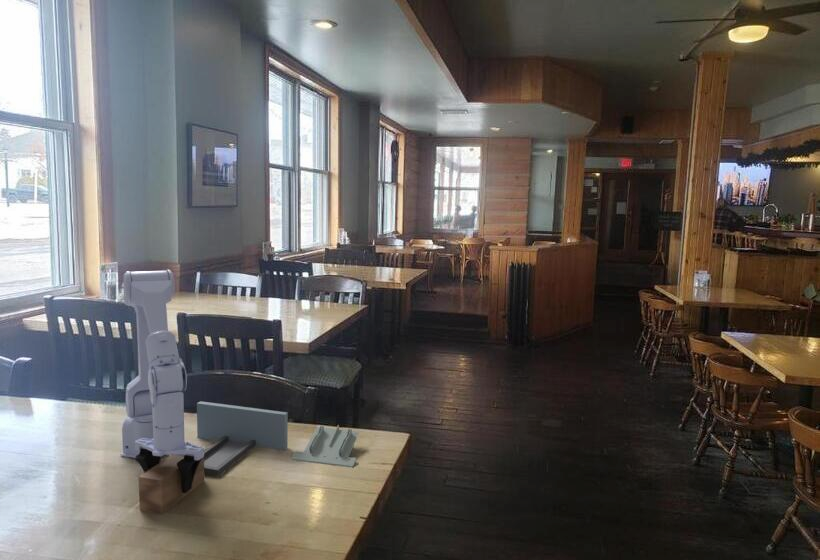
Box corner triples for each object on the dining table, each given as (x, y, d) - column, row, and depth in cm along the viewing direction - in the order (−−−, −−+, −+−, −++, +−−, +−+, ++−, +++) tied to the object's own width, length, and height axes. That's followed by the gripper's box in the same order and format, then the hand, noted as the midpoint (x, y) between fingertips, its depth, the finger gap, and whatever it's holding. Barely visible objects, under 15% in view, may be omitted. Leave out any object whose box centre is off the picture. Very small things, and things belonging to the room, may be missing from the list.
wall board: (153, 466, 129) (152, 427, 128) (201, 435, 146) (200, 401, 145) (249, 481, 123) (249, 441, 122) (287, 447, 141) (287, 412, 139)
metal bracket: (309, 418, 145) (367, 424, 142) (312, 437, 148) (368, 443, 145) (288, 457, 132) (350, 464, 130) (291, 476, 135) (352, 484, 132)
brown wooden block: (139, 510, 111) (138, 476, 110) (183, 477, 125) (183, 447, 124) (162, 514, 110) (161, 480, 109) (204, 480, 123) (203, 449, 122)
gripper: (123, 426, 112) (125, 491, 114) (188, 435, 109) (189, 503, 110) (147, 413, 119) (149, 475, 121) (209, 422, 115) (210, 485, 117)
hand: (170, 487), depth 116 cm, fingers open, 7 cm apart
